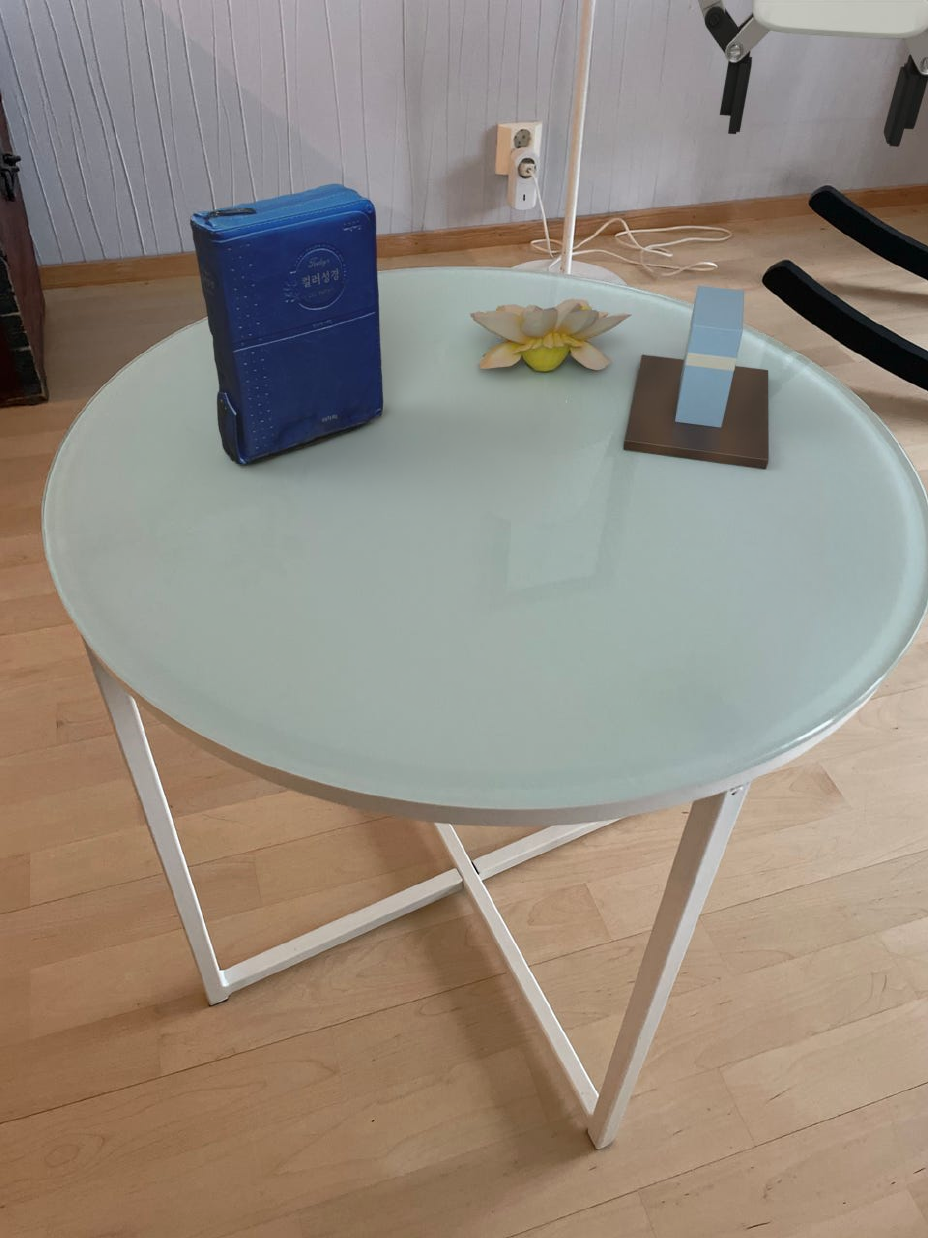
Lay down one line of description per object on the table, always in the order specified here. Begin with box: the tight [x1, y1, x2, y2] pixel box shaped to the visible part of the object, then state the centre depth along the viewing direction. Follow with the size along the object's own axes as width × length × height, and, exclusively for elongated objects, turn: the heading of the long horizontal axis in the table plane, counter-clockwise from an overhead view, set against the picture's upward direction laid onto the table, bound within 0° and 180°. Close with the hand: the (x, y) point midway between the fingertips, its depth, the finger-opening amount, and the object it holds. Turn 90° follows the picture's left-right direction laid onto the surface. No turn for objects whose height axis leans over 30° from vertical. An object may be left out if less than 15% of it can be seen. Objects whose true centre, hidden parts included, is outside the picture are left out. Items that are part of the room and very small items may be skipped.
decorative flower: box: [469, 298, 632, 373], centre depth 94 cm, size 15×11×10 cm
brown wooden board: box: [623, 354, 770, 470], centre depth 90 cm, size 12×16×1 cm
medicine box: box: [675, 285, 745, 428], centre depth 87 cm, size 4×8×9 cm, turn 167°
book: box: [189, 183, 384, 466], centre depth 79 cm, size 14×5×20 cm, turn 126°
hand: (811, 134), depth 63 cm, fingers open, 9 cm apart
